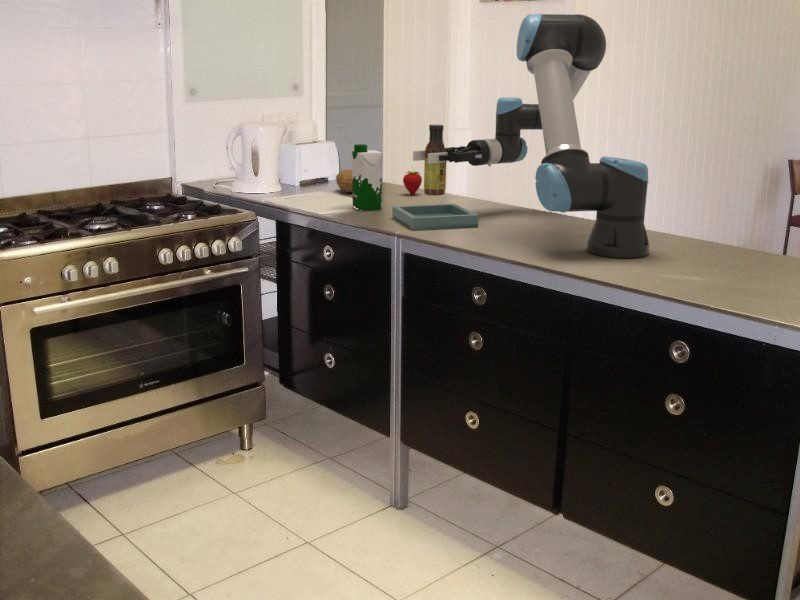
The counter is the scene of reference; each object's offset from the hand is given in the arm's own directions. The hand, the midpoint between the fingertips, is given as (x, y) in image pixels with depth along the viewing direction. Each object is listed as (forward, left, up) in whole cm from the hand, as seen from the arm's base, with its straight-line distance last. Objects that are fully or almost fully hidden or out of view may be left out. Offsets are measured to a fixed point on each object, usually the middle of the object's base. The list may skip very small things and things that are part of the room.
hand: (421, 157), depth 245 cm
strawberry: (+50, -14, -19) cm, 56 cm away
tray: (+1, -5, -19) cm, 20 cm away
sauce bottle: (+2, -5, -11) cm, 12 cm away
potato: (+61, +5, -19) cm, 65 cm away
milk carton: (+28, +8, -19) cm, 35 cm away
